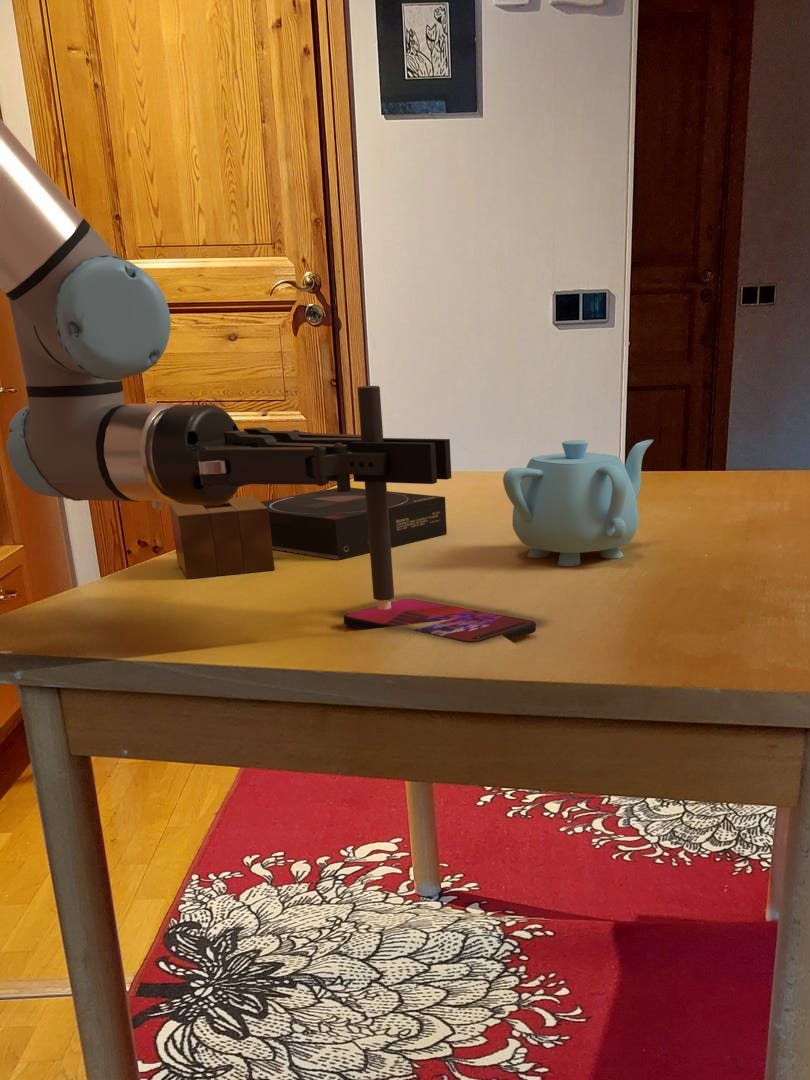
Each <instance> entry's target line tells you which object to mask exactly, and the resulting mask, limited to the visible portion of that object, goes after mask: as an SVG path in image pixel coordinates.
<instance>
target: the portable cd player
mask: <svg viewBox="0 0 810 1080" xmlns="http://www.w3.org/2000/svg"><path fill="white" fill-rule="evenodd" d="M387 499H388V514H389V528H390V543H391V548H394V547H399V546H403V545H406V544H411V543H414V542H419V541H423V540H428V539H432V538H436V537H439V536H440V537H441V536H444V535H448V534H447V533H448V532H447V531H448V530H447V509H446V507H447V506H446V496H441V495H431V494H420V493H419V494H418V493H410V492H409V493H408V492H402V491H401V492H400V491H399V492H398V491H389V490H387ZM260 502H261V503H262V504H263V505H265V506H266V507H267V508H268V512H269V521H270V530H271V539H272V549H274V550H273V551H278V550H280V551H279V552H284V551H287V552H286V553H291V552H293V553H292V554H297V553H299V554H298V555H304V554H306V555H305V556H310V555H311V557H317V558H323V559H324V558H325V559H330V560H336V561H337V560H338V561H339V560H343V559H348V558H352V557H357V556H361V555H365V554H370V546H369V533H368V520H367V507H366V494H365V488H358V487H351V491H348V492H338V489H337V487H333V488H329V489H328V488H327V489H323V490H317V491H313V492H307V493H301V494H295V495H290V496H285V497H284V496H283V497H280V498H273V499H268V500H263V501H260Z"/></svg>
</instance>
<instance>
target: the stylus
mask: <svg viewBox="0 0 810 1080" xmlns="http://www.w3.org/2000/svg"><path fill="white" fill-rule="evenodd" d="M356 389H357V402H358V416H359V427H360V435H361V442H383V438H384V429H383V415H382V414H383V413H382V401H381V400H382V399H381V387H380V386H379V385H362V386H358V387H357V388H356ZM387 487H388V486H387V483H382V482H364V489H365V494H366V507H367V520H368V533H369V546H370V552H369V557H370V558H369V559H370V570H371V571H370V572H371V584H372V595H373V597H372V598H373V599H374V600H376V601H377V606H378V609H380V610H387V609H390V608H391V602H392V600H393V599H394V598H395V586H394V573H393V559H392V558H393V557H392V547H391V543H390V528H389V514H388V499H387V491H388V488H387Z"/></svg>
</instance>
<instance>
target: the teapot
mask: <svg viewBox="0 0 810 1080" xmlns="http://www.w3.org/2000/svg"><path fill="white" fill-rule="evenodd" d="M653 442H654V439H646V440H642V441H640V442H637V443H635V444H634V445H633V447H632V448H631V449H630V451H629V452H628V456H627V458H626V461H625V464H624V463H623V461H622V459H621V458H620V457H618V456H617V455H611V454H607V453H597V452H587V448H588V445H589V442H588V441H587V440H583V439H582V440H581V439H572V440H571V439H570V440H565V441H562V442H561V444H562V445H561V446H562V449H563V452H562V453H552V454H544V455H538V456H533V457H532V458H530V459H529V461H528V463H527V465H526V467H514V468H509V469H508V470H506V471H505V472H504V474H503V478H502V484H503V487H504V491H505V493H506V495H507V497H508V499H509V501H510V503H511V504H512V506H513V509H512V528H513V532H514V533H515V535H516V536H517V538H518V540H519V541H520V542H521V543H522V544H523V545H525V546H527V547H529V548H530V550H529V551H528V553H527V555H526V556H527V557H528V558H546V557H549V555H550V552H554V553H559V556H558V561H557V565H558V566H563V567H574V566H580V565H581V553H590V552H597V551H599V554H600V556H601V558H602V559H603V558H604V559H620V558H624V554H623V553H622V551H621V549H620V547H624V546H628V545H629V544H630V543H631V541H632V539H634V537H635V535H636V533H637V532H638V530H639V526H640V515H639V507H638V506H639V505H638V498H639V496H640V492H641V486H642V484H641V483H642V464H643V458H644V456H645V453H646V451H647V449H648V448H649V447H650V446H651V444H652V443H653Z"/></svg>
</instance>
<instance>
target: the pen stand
mask: <svg viewBox="0 0 810 1080" xmlns="http://www.w3.org/2000/svg"><path fill="white" fill-rule="evenodd" d="M261 502H262V501H260V500H259V499H258V498H257V497H255V496H254V495H251V496H239V497H232V498H231V499H230V500H229V501H227V502H226V503H224V504H221V505H217V506H210V505H190V504H181V503H168V505H169V512H170V519H171V527H172V533H173V541H174V548H175V552H176V560H177V561H176V562H177V564H178V566H179V567H180V569H181V571H182V573H183V574H184V576H185V578H186V579H187V580H191V579H199V578H200V579H201V578H210V577H212V578H213V577H222V576H232V575H239V574H238V573H242V574H248V573H247V572H251V573H258V572H257V571H261V572H268V571H267V570H271V571H275V568H276V567H275V559H274V558H275V557H274V550H273V549H272V539H271V530H270V521H269V512H268V508H267V507H266V506H265V505H263V504H262V503H261ZM231 574H232V575H231Z"/></svg>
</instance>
